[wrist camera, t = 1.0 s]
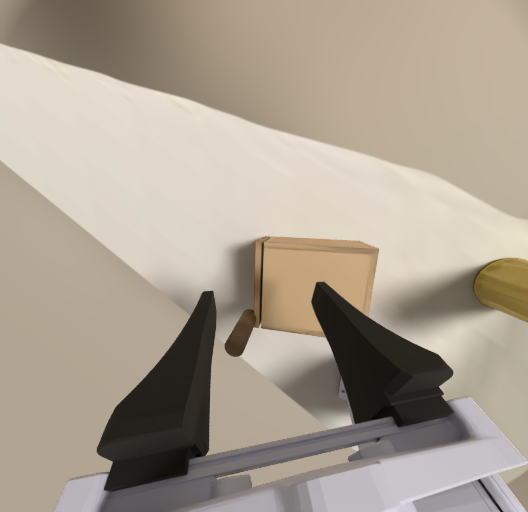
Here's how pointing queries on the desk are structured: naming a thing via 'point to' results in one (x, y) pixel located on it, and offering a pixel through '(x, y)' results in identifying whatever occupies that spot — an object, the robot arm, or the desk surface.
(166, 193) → the desk surface
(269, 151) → the desk surface
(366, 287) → the carton
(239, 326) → the wooden paddle
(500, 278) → the vase
